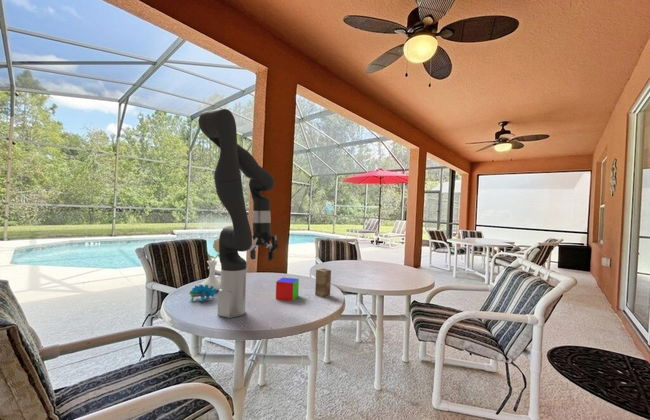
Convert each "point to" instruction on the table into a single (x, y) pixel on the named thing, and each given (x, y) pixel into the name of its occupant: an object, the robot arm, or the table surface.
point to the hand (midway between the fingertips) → (261, 259)
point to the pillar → (323, 282)
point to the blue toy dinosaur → (202, 292)
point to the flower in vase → (213, 270)
